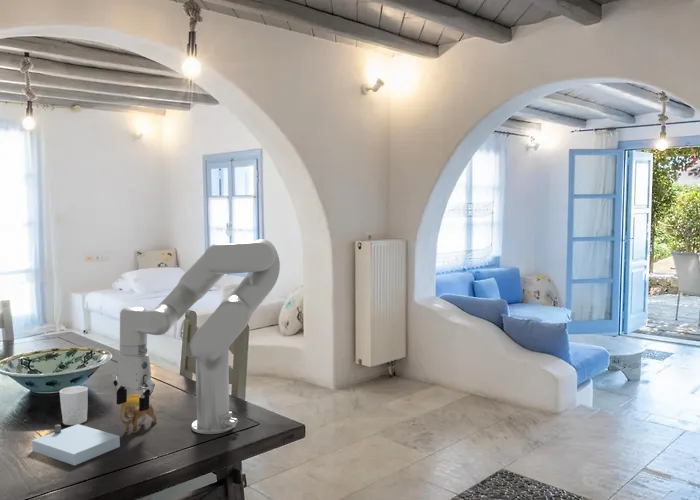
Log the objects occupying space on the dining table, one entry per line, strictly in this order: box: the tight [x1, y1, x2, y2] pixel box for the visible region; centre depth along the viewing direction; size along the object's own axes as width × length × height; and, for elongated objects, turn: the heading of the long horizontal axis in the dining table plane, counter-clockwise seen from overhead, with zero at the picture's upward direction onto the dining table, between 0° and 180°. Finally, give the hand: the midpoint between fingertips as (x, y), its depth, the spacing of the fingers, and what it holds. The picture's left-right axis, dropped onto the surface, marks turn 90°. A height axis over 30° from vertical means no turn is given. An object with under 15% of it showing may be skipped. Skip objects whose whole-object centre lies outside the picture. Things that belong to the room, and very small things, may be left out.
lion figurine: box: [119, 403, 158, 434], centre depth 183 cm, size 15×5×9 cm, turn 163°
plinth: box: [31, 424, 121, 466], centre depth 168 cm, size 18×14×5 cm
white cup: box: [58, 385, 89, 426], centre depth 189 cm, size 8×8×10 cm
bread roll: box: [120, 393, 141, 408], centre depth 202 cm, size 8×9×4 cm
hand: (132, 406), depth 182 cm, fingers open, 9 cm apart
